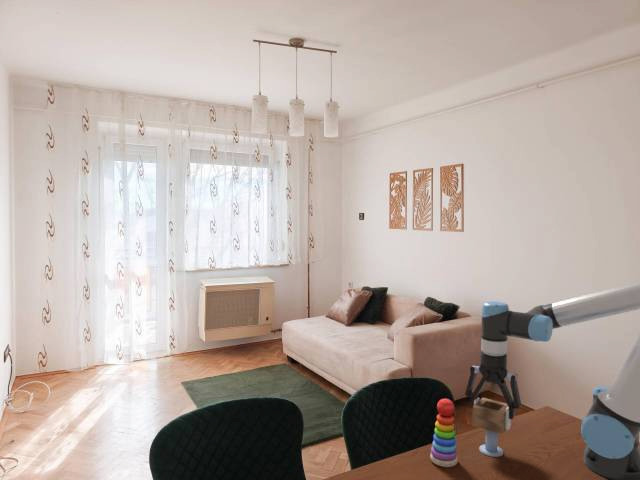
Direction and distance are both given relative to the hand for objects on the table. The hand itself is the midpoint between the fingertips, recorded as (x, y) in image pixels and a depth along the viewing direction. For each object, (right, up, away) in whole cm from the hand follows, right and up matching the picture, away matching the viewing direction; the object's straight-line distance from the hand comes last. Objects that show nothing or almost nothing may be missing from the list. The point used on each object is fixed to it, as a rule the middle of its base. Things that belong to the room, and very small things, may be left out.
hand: (491, 423), depth 143 cm
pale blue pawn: (0, -9, 0) cm, 9 cm away
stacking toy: (-16, -9, -6) cm, 20 cm away
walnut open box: (0, 0, 0) cm, 0 cm away
